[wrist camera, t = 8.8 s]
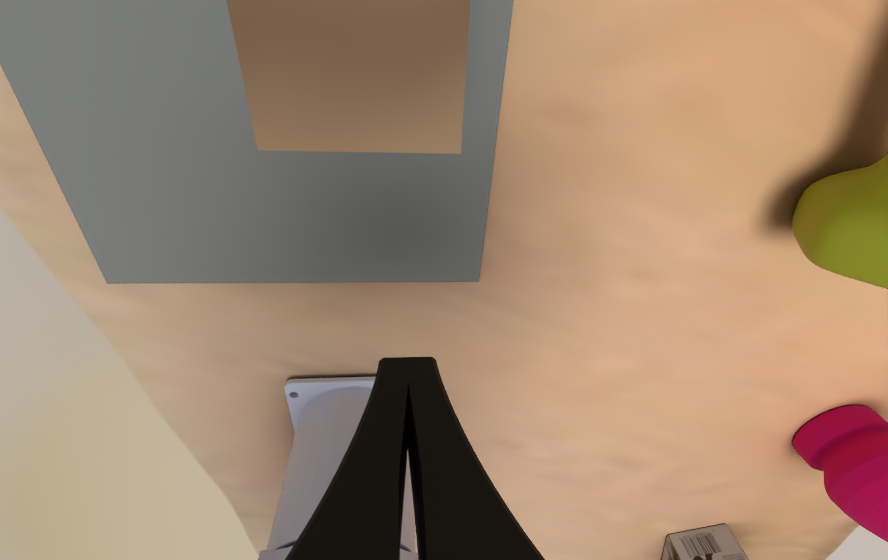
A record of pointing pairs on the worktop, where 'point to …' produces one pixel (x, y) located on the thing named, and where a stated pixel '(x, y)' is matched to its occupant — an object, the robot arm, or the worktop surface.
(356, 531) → the robot arm
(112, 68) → the mat
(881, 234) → the dumbbell
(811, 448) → the pepper mill
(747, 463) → the worktop surface
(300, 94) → the walnut block
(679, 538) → the coffee box
